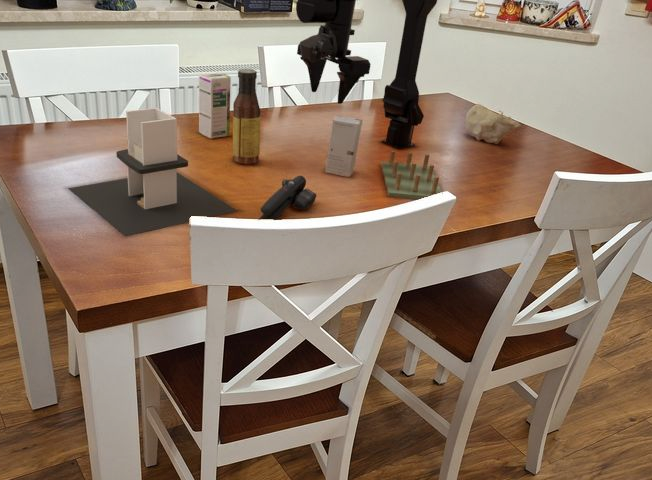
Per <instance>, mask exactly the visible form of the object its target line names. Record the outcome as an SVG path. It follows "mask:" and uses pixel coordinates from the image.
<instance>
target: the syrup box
mask: <svg viewBox="0 0 652 480" xmlns="http://www.w3.org/2000/svg"><path fill="white" fill-rule="evenodd" d="M231 82H232V80H231V76H229V75H227V74H226V73H223V72H219V71H215V72H209V73H208V72H207V73H199V74H198V132H199V133H200V134H201V135H202V136H204V137H206V138H208V139H211V140H212V139H216V138H223V137H224V138H225V137H230V126H231V125H230V124H231V123H230V121H231V84H232V83H231Z"/></svg>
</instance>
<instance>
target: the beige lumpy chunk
mask: <svg viewBox="0 0 652 480" xmlns="http://www.w3.org/2000/svg"><path fill="white" fill-rule="evenodd" d="M464 124H465V128H466V130H467V132H468V135H470V136H471V137H473V138H475V139H476V140H477V141H478V142H480V141H481V140H483V141H485V143H487V144H494V145H498V144H499V143H500V142H501V140H502V139H504V137H506V136H507V135H508V134H509V133H512V132H513V131H516V130H519V129H520V128H521V127H522V124H520V123H519V122H518V121H517V120H513V119H512V117H511V116H506V115H505V114H504V111H501V110H498V113H497V112H494V111H492V110H491V109H489V108H487V107H486V106H485V105H482V104H481V103H476V104H475V105H473V106H472V107H471V108H469V110H468V111H467V112H466V115H465V121H464Z"/></svg>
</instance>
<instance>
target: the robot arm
mask: <svg viewBox="0 0 652 480" xmlns="http://www.w3.org/2000/svg"><path fill="white" fill-rule="evenodd" d="M356 2H357V0H297V1H296V4H295V12H296V16H297V18H298V20H299V21H300V22H301V23H303V24H320V26H319V28H318V33H317V34H314V35H310V36H309V37H307V38H304V39H303V40H301V41H300V42H299V44H298V45H297V51H296V55H298V56H299V58H300V60H301V61H303V63H304V64H305V65H306V68H307V71H308V76H309V82H310V90H311V93H316V92H317V91H318V88H319V86H320V82H321V80H322V77H323V74H324V70H325V67H326V64H327V61H328V62H331V63H333V64H336V65H338V69H339V71H336V75H337V76H338V78H339V85H338V92H337V104H338V105H341V104H343V103H344V101H345V100H346V98H347V97H348V95H349V94H350V92H351V91H352V90H353V88H354V86H355V85H356V84H357V82H358V81H359V80H361V78H365V75H369V74H370V71H371V62H370V60H369V59H367V58H364V57H362V56H359V55H353V56H352V55H351V54H352V50H351V49H348V48H349V42H350V36H355V31H356V30H355V29H353V28H352V25H353V20H354V19H353V18H354V13H355V8H356ZM401 2H402V5H403V8H404V12H405V16H404V17H405V18H404V24H403V28H402V29H403V30H402V36H401V41H400V47H399V53H398V59H397V64H396V71H395V77H394V79H393V80H392V81H391V82H390V83H389V84H386V85H385V87H384V94H383V98H382V102H383V109H384V117H385V118H386V119H390V120H389V124H388V126H387V132H386V137H385V139H381V142H382V144H385V145H388V146H390V147H392V148H394V149H398V150H402V149H407V148H413V147H416V144H415V143H414V142H412V141H413V135H414V130H415V127H418V126H419V125H421V124H422V122H423V119H424V117H425V115H424V113H423V111H422V109H421V107H420V105H419V102H420V101H419V99H420V90H419V87H418V85H417V82H416V79H417V74H418V68H419V62H420V57H421V51H422V46H423V42H424V35H425V30H426V25H427V19H428V16H429V14H430V13H431V12H432V10H433V9H435V6H436V5H437V3H438V0H401Z"/></svg>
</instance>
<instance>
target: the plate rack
mask: <svg viewBox="0 0 652 480" xmlns="http://www.w3.org/2000/svg"><path fill="white" fill-rule="evenodd" d="M395 157H396V150H391V151H390V155H389V161H381V164H380V167H381V171H382V177H383V180H384V185H385V189H386V193H387V194H386V195H387V197H390V198H400V199H411V200H419V199H421V198H424V197H428V196H431V195H433V194H437V193H440V192H442V193H443V191H442V189H441V186H440V184H439V181H440V176H438V175H436V174H435V172H434V169H435V165H434V164H429V160H430V154H429V153H425V154H424V159H423V163H422V165H420V164H417V163H416V162H412V159H413V152H411V151H409V152H408V153H407V158H406V162H405V163H400V162H399V161H398V160H395Z"/></svg>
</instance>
